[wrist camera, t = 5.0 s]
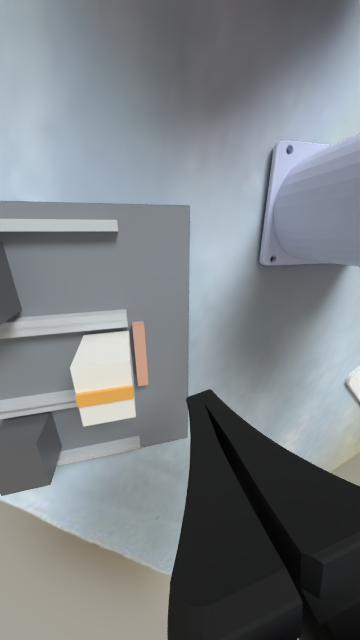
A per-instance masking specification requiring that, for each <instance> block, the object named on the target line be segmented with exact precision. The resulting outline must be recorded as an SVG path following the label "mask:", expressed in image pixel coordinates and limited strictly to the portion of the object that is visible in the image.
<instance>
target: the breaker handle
mask: <svg viewBox="0 0 360 640" xmlns="http://www.w3.org/2000/svg"><path fill="white" fill-rule="evenodd" d="M70 371H71V375H72V380H73V384H74V388H75V393H76V394H75V399H76V403H77V407H79V410H80V415H81V419H82V423H83V427H84V426H89V425H95V424H100V423H106V422H111V421H117V420H122V419H128V418H133V417H136V409H135V391H134V375H133V366H132V356H131V346H130V336H129V331H120V332H110V333H100V334H89V335H84V336H83V338H82V340H81V343H80V345H79V347H78V350H77V352H76V355H75V357H74V359H73V362H72V364H71V366H70Z"/></svg>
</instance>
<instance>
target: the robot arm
mask: <svg viewBox="0 0 360 640" xmlns="http://www.w3.org/2000/svg"><path fill="white" fill-rule="evenodd" d="M287 148H288V149H289V154H287V152H286V149H287ZM272 256H273V260H272V261H270V259H271V257H272ZM259 260H260V263H261V264H262V265H265V266H271V265H296V264H321V263H336V264H344V265H351V266H359V267H360V133H358V134H356V135H354V136H352V137H349V138H347V139H345V140H342V141H340V142H338V143H336V144H333V145H327V144H317V143H308V142H298V141H288V140H282V141H280V142H278V143H277V144H276V145H275V146H274V149H273V156H272V164H271V171H270V179H269V187H268V195H267V203H266V211H265V219H264V227H263V235H262V243H261V251H260V258H259ZM186 402H187V406H188V410H189V417H190V433H191V443H190V468H189V480H188V488H187V497H186V504H185V511H184V516H183V522H182V528H181V534H180V539H179V544H178V549H177V554H176V558H175V563H174V568H173V572H172V577H171V581H170V594H169V609H168V640H297V638H299V640H360V486H357V485H355V484H353V483H351V482H348V481H346V480H344V479H342V478H340V477H338V476H335V475H333V474H331V473H329V472H327V471H325V470H323V469H321V468H319V467H317V466H315V465H314V464H312V463H310V462H308V461H306V460H304V459H303V458H301V457H299V456H297V455H295V454H293V453H292V452H290V451H288V450H287V449H285V448H283V447H282V446H280V445H279V444H277V443H275V442H274V441H272V440H271V439H269V438H268V437H266V436H265V435H263V434H262V433H261V432H259V431H258V430H256V429H255V428H254V427H252V426H251V425H250V424H248V423H247V422H246V421H245V420H243V419H242V418H241V417H240V416H239V415H237V414H236V413H235V412H234V411H233V410H231V409H230V408H229V407H228V406H227V405H226V404H225V403H224V402H223V401H222V400H221V399H220V398H219V397H218V396H217V395H216V394H215V393H214V392H213V391H212V390H210V389H209V390H206V391H203V392H201V393H198V394H195V395H192V396H189V397H187V399H186Z"/></svg>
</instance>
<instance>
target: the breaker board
mask: <svg viewBox="0 0 360 640" xmlns="http://www.w3.org/2000/svg"><path fill="white" fill-rule="evenodd" d="M189 241H190V206H187V205H147V204H106V203H66V202H26V201H0V494H1V496H3V495H8V494H12V493H16V492H21V491H25V490H29V489H34V488H38V487H43V486H47V485H51V482H52V478H53V475H54V472H55V468H56V466H60V465H65V464H69V463H74V462H79V461H83V460H88V459H93V458H97V457H102V456H107V455H111V454H116V453H121V452H125V451H130V450H135V449H140V447H145V446H150V445H154V444H159V443H164V442H169V441H173V440H178V439H183V438H187V434H188V406H187V402H186V399H187V397H188V337H189ZM120 331H129V336H130V346H131V356H132V366H133V375H134V391H135V409H136V417H133V418H128V419H122V420H117V421H111V422H106V423H100V424H95V425H89V426H84V427H83V423H82V419H81V415H80V410H79V407H77V403H76V399H75V394H76V393H75V388H74V384H73V380H72V375H71V371H70V366H71V364H72V362H73V359H74V357H75V355H76V352H77V350H78V347H79V345H80V343H81V340H82V338H83V336H84V335H89V334H100V333H110V332H120Z"/></svg>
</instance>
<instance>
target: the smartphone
mask: <svg viewBox="0 0 360 640" xmlns="http://www.w3.org/2000/svg"><path fill="white" fill-rule="evenodd" d="M345 381H346V384H347V385H348V387H349V388H350V390H351V391H352V392H353V394H354V395H355V396H356V398H357V399H358V401H359V402H360V365H359V366H358V367H357V368H356V369H355V370H353V371H352V372H351V373H350V374H349V375H348V376H347V378H346V380H345Z"/></svg>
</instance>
